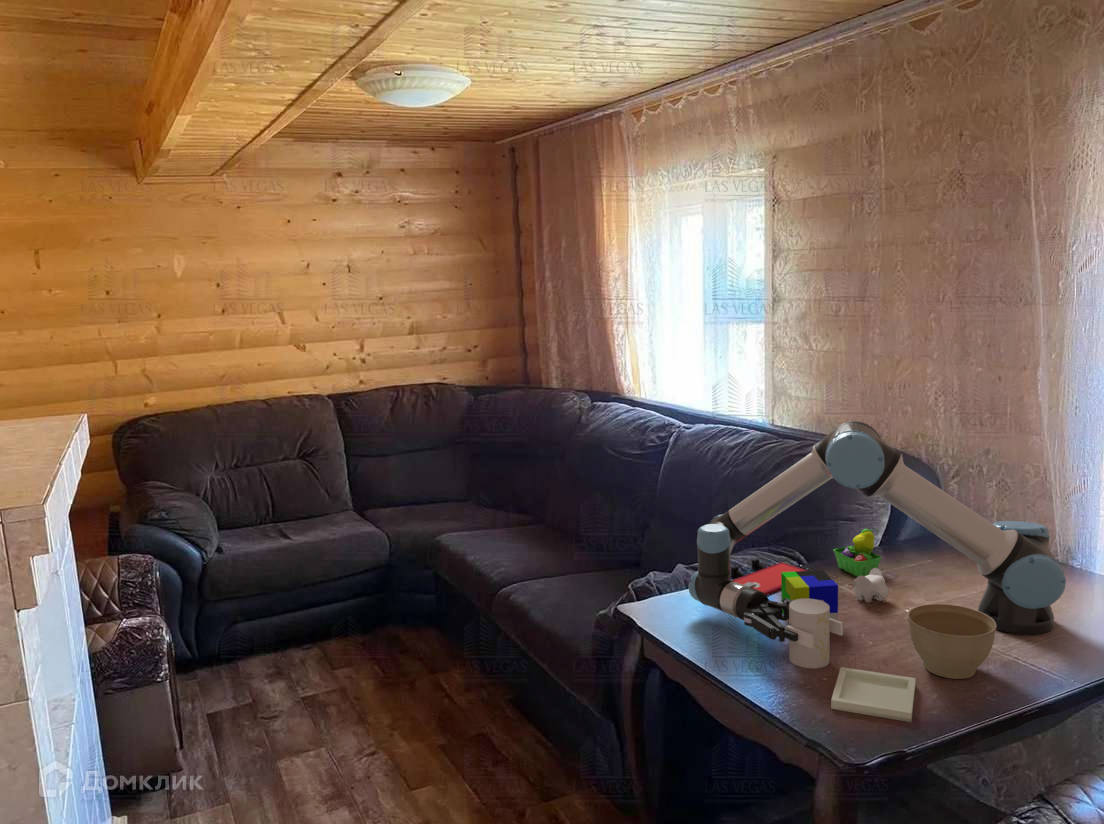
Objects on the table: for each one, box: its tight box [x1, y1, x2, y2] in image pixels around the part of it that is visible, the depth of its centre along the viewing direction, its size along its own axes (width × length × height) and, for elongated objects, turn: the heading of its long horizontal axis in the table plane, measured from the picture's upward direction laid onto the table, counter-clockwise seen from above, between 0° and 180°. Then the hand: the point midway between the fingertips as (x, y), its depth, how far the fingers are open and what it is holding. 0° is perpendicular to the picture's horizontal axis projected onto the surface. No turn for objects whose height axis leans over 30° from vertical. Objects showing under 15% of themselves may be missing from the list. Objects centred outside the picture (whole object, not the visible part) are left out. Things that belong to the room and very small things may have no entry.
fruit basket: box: [833, 528, 882, 578], centre depth 228 cm, size 11×9×11 cm
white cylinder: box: [788, 599, 831, 669], centre depth 180 cm, size 8×8×12 cm
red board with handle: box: [730, 558, 808, 597], centre depth 225 cm, size 30×3×15 cm
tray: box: [830, 666, 917, 723], centre depth 164 cm, size 14×14×2 cm
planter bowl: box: [907, 603, 997, 680], centre depth 173 cm, size 16×16×11 cm
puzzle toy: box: [780, 569, 839, 621], centre depth 200 cm, size 10×10×10 cm
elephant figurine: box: [853, 568, 894, 603], centre depth 209 cm, size 8×10×7 cm
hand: (827, 635), depth 176 cm, fingers open, 9 cm apart
